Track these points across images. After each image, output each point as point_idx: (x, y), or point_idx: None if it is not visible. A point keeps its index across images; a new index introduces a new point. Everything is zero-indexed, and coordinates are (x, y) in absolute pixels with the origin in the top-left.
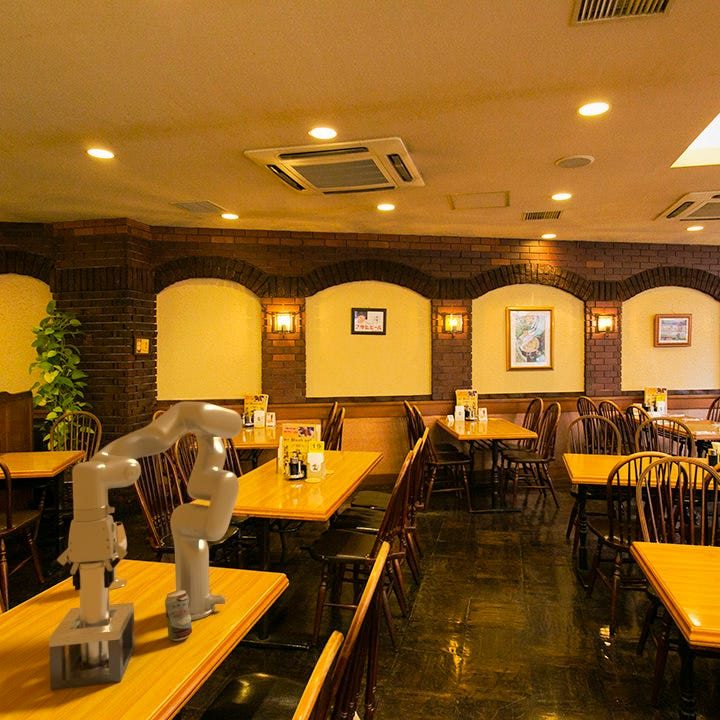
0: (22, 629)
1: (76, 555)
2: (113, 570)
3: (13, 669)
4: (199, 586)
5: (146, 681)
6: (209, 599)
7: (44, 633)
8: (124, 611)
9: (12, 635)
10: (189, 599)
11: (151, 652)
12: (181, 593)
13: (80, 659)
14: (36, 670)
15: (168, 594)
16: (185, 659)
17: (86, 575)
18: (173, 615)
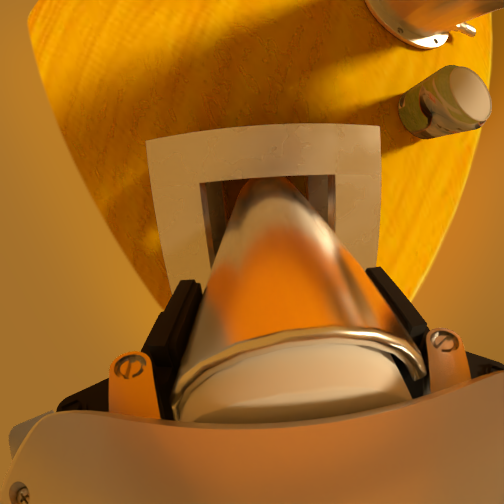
0: (56, 52)
1: None
2: (427, 332)
3: (98, 190)
4: (467, 20)
5: (376, 266)
6: (457, 27)
7: (94, 56)
8: (365, 198)
9: (48, 74)
10: (434, 24)
11: None
12: (485, 106)
13: (222, 181)
14: (141, 197)
15: (453, 82)
16: (432, 204)
17: None
18: (444, 131)
